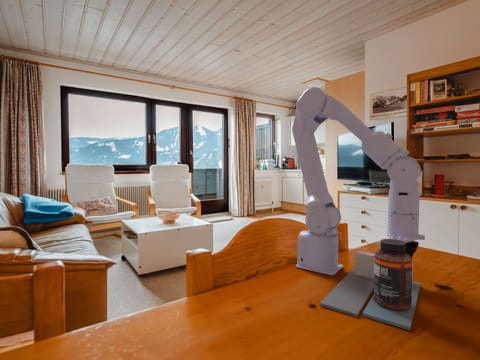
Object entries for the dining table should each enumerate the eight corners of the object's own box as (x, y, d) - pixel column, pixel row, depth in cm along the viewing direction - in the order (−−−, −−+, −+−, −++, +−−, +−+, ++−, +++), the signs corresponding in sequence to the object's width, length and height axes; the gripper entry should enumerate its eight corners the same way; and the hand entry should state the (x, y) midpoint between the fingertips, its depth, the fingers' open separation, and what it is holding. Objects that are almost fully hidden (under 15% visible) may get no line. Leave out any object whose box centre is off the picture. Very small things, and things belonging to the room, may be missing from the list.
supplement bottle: (409, 300, 51) (410, 239, 51) (413, 315, 46) (416, 247, 45) (373, 293, 54) (374, 235, 53) (373, 307, 48) (375, 242, 48)
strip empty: (319, 305, 50) (320, 275, 49) (351, 272, 67) (352, 249, 66) (357, 317, 46) (358, 284, 46) (381, 278, 63) (381, 254, 63)
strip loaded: (362, 316, 46) (363, 283, 46) (384, 277, 63) (385, 254, 63) (410, 330, 42) (411, 294, 42) (420, 285, 59) (421, 260, 59)
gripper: (423, 219, 51) (420, 292, 52) (427, 211, 63) (425, 270, 63) (381, 215, 55) (379, 282, 56) (392, 208, 67) (390, 263, 67)
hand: (401, 275), depth 60 cm, fingers closed on strip loaded, 2 cm apart
